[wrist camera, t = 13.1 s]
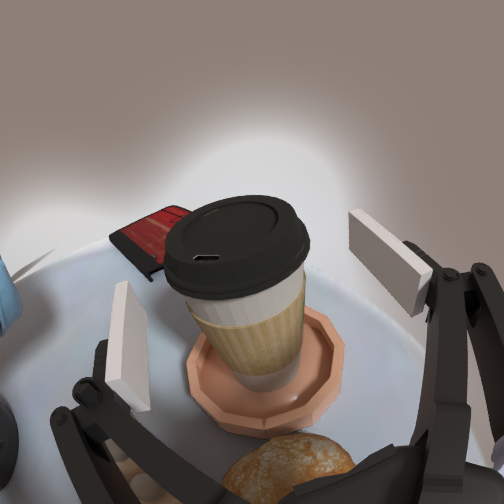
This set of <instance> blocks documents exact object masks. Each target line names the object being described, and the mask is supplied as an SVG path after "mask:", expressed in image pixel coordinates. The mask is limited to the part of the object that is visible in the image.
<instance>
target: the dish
mask: <svg viewBox="0 0 504 504" xmlns="http://www.w3.org/2000/svg"><path fill="white" fill-rule="evenodd" d="M344 345H345V344H344V342H343V341H342V339H341V338H340V336H339V334H338V333H337V331H336V329H335V328H334V326H333V325H332V323H331V321H330V320H329V318H328V317H327V316H325V315H323V314H321V313H319V312H317V311H315V310H313V309H311V308H309V307H307V306H305V308H304V329H303V343H302V347H301V358H300V368H299V371H298V374H297V375H296V377H295V378H294V379H293V380H292V382H291V383H289V384H288V385H287V386H285V387H283V388H281V389H279V390H276V391H273V392H256V391H252V390H250V389H247V388H246V387H244V386H243V385H242V384H241V383H240V382H239V381H238V379H237V378H236V376H235V375H234V373H233V372H232V370H231V369H230V368H229V367H228V366H227V365H226V364H225V363H224V362H223V360H222V359H221V358H220V356H219V355H218V353H217V352H216V350H215V349H214V347H213V346H212V344H211V343H210V341H209V340H208V338H207V337H206V335H205V334H204V332H203V331H202V332H201V333H200V335H199V337H198V339H197V341H196V343H195V345H194V347H193V349H192V351H191V353H190V355H189V357H188V359H187V361H186V364H187V371H188V378H189V385H190V392H191V395H192V397H193V398H194V399H195V401H196V402H197V403H198V405H199V406H200V407H201V408H202V409H203V410H204V411H205V412H206V413H207V414H208V415H209V416H210V417H211V418H212V419H213V420H214V421H215V422H216V423H217V424H219V425H220V426H221V427H222V428H223V429H224V430H225V431H226V432H230V433H235V434H240V435H245V436H250V437H256V438H261V439H268V440H270V439H272V438H273V437H274V438H275V437H279V436H282V435H285V434H288V433H291V432H294V431H297V430H300V429H303V428H305V427H308V426H311V425H313V424H314V423H315V422H316V420H317V419H318V418H319V417H320V416H321V415H322V414H323V413H324V411H325V410H326V409H327V408H328V407H329V406H330V405H331V403H332V402H333V401H334V400H335V399H336V397H337V396H338V395H339V394H340V387H341V379H342V370H343V361H344Z"/></svg>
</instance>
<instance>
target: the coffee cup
mask: <svg viewBox="0 0 504 504" xmlns="http://www.w3.org/2000/svg"><path fill="white" fill-rule="evenodd" d="M309 250H310V238H309V235H308V232H307V230H306V227H305V225H304V224H303V222H302V221H301V220H300V219H299V218H298V217H297V215H296V213H295V210H294V209H293V207H292V206H291V205H290V204H289V203H287V202H286V201H284V200H281V199H279V198H276V197H270V196H264V195H246V196H237V197H232V198H227V199H223V200H219V201H216V202H213V203H210V204H208V205H205V206H203V207H200V208H198V209H196V210H194V211H193V212H191V213H189V214H187V215H186V216H184V217H183V218H182V219H180V220H179V221H178V222H177V223H176V224H175V225H174V226H173V227H172V228H171V229H170V231H169V232H168V234H167V236H166V239H165V255H164V262H163V267H164V272H165V276H166V279H167V282H168V283H169V284H170V286H171V287H172V288H173V289H174V290H176V291H177V292H179V293H180V294H182V295H183V296H184V298H185V300H186V304H187V306H188V309H189V311H190V313H191V314H192V316H193V317H194V319H195V320H196V322H197V323H198V325H199V326H200V328H201V329H202V331H203V332H204V334H205V335H206V337H207V338H208V340H209V341H210V343H211V344H212V346H213V347H214V349H215V350H216V352H217V353H218V355H219V356H220V358H221V359H222V360H223V362H224V363H225V364H226V365H227V366H228V367H229V368H230V369H231V370H232V372H233V373H234V375H235V376H236V378H237V379H238V381H239V382H240V383H241V384H242V385H243V386H244V387H246V388H247V389H250V390H252V391H256V392H273V391H276V390H279V389H281V388H283V387H285V386H287V385H288V384H289V383H291V382H292V380H293V379H294V378H295V377H296V375H297V374H298V371H299V368H300V358H301V347H302V343H303V329H304V308H305V282H306V276H305V272H304V260H305V259H306V257H307V255H308V252H309Z"/></svg>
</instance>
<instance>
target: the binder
mask: <svg viewBox="0 0 504 504" xmlns="http://www.w3.org/2000/svg"><path fill="white" fill-rule="evenodd" d="M191 212H192V211H189V210H187V209H185V208H182V207H179V206H175V205H172V206H168V207H165V208H163V209H161V210H159V211H157V212H155V213H153V214H150V215H148V216H146V217H144V218H142V219H139V220H137V221H135V222H133V223H131V224H129V225H127V226H125V227H123V228H121V229H119V230H117V231H115V232H114V233H112V234H110V235H109V239H110V241H111V242H112V244H114V245H115V247H116V248H117V249H118V250H119V251H121V252H122V254H123V255H124V256H125V257H126V258H127V259H128V260H129V261H130V262H131V263H132V264H134V265H135V266H136V267H137V268H138V270H139V271H140V272H141V273H143V274H144V275H145V276H146V277H147V278H148V279H149V281H150V282H153V279H152V278H151V276H150V273H152V272H154V271H156V270H158V269H159V270H162V269H164V267H163V262H164V255H165V239H166V236H167V234H168V232H169V231H170V229H171V228H172V227H173V226H174V225H175V224H176V223H177V222H178V221H179V220H180V219H182V218H183V217H184V216H186V215H187V214H189V213H191Z"/></svg>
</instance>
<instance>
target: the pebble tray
mask: <svg viewBox="0 0 504 504" xmlns="http://www.w3.org/2000/svg"><path fill="white" fill-rule="evenodd" d="M130 414H131V413H130ZM131 416H132V417H133V418H134V419H135V420H136V418H135V417H134V415H132V414H131ZM136 421H137V420H136ZM104 442H105V444H106V445H107V447H108V449H109V451H110V453H111V455H112V457H113V458H114V460H115V462H116V464H117V466H118V467H119V469H120V471H121V472H122V474H123V476H124V477H125V479H126V481H127V482H128V484H129V486H130V487H131V489H132V490H133V492H134V493H135V495H136V496H137V498H138V499H139V501H140V502H141V504H183V503H181V502H180V501H179V500H177V499H176V498H175V497H174V496H172V495H171V494H170V493H169V492H167V491H166V490H165V489H164V488H163V487H161V486H160V485H159V484H158V483H157V482H155V481H154V480H153V479H152V478H151V477H150V476H149V475H148V474H146V473H145V472H144V471H143V470H142V469H141V468H140V467H139V466H138V465H137V464H136V463H135V462H134V461H132V460H131V459H130V458H129V457H128V456H127V455H126V454H125V453H124V452H123V451H122V450H121V449H120V448H119V447H118V446H117V445H116V444H115V442H114V441H113V440H112V439H111V438H110V439H108V440H106V441H104Z"/></svg>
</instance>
